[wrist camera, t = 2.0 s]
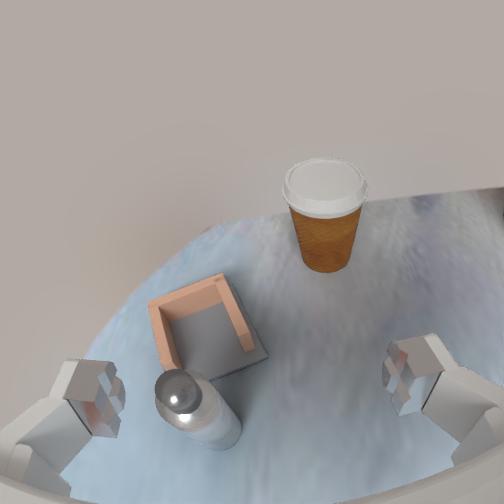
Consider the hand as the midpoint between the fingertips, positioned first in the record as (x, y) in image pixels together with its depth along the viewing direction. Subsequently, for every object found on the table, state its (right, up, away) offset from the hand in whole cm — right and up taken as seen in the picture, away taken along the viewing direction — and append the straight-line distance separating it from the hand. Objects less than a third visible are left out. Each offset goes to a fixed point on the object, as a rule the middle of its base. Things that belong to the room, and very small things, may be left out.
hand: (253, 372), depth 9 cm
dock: (-5, -6, +27) cm, 29 cm away
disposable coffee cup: (+10, +3, +33) cm, 35 cm away
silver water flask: (-3, -14, +19) cm, 24 cm away
